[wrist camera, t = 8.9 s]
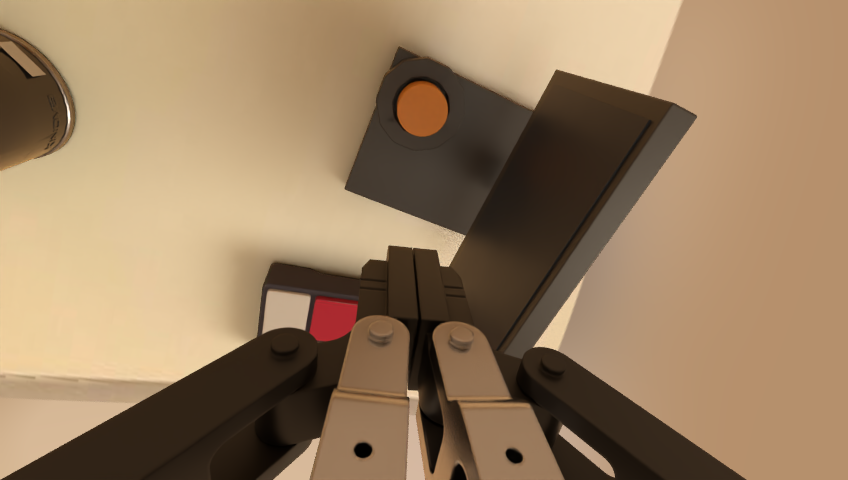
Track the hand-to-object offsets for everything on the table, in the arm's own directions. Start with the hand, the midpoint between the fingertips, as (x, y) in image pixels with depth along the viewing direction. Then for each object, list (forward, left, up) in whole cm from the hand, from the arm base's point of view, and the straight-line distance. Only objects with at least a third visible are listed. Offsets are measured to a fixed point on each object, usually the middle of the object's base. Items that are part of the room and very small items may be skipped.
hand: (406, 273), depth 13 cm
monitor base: (+6, -1, -24) cm, 24 cm away
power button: (+1, +2, -21) cm, 21 cm away
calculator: (+3, -21, -24) cm, 32 cm away
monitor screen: (+8, -1, -16) cm, 18 cm away
